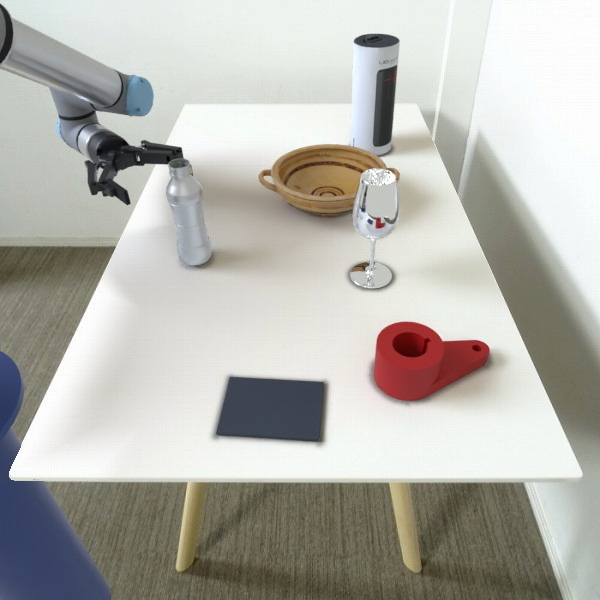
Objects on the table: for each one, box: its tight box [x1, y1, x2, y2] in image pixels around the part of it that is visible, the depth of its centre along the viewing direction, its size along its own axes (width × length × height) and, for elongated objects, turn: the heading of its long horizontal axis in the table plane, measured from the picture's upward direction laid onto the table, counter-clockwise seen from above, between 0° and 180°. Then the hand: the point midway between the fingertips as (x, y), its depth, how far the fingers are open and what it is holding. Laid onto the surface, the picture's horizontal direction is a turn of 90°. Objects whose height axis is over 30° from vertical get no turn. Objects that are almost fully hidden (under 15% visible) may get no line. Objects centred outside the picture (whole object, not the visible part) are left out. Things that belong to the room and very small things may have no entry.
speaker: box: [349, 33, 401, 157], centre depth 130 cm, size 11×10×26 cm
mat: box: [215, 376, 325, 442], centre depth 78 cm, size 14×10×1 cm
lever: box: [373, 321, 491, 402], centre depth 80 cm, size 18×9×7 cm, turn 106°
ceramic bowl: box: [258, 143, 401, 217], centre depth 117 cm, size 30×24×8 cm
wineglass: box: [349, 168, 400, 290], centre depth 93 cm, size 8×8×20 cm
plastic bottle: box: [165, 158, 213, 266], centre depth 98 cm, size 6×7×20 cm
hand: (160, 184), depth 101 cm, fingers open, 13 cm apart
